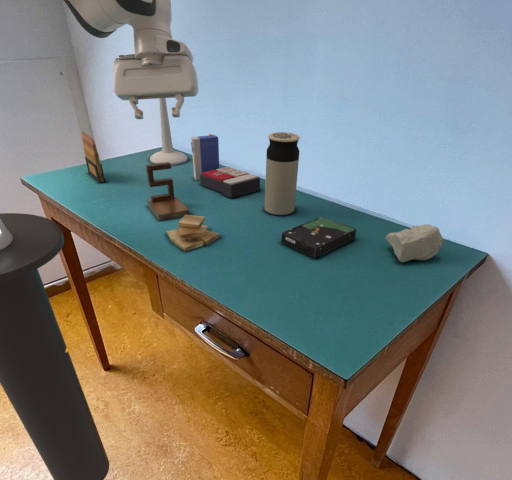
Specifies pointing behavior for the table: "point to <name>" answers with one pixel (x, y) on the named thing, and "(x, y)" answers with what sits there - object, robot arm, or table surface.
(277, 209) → the travel mug
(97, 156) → the ammunition clip
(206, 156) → the walkman
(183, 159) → the candlestick
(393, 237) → the decorative stone
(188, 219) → the tile pile
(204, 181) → the calculator
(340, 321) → the table surface
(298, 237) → the disk drive
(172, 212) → the letter S
